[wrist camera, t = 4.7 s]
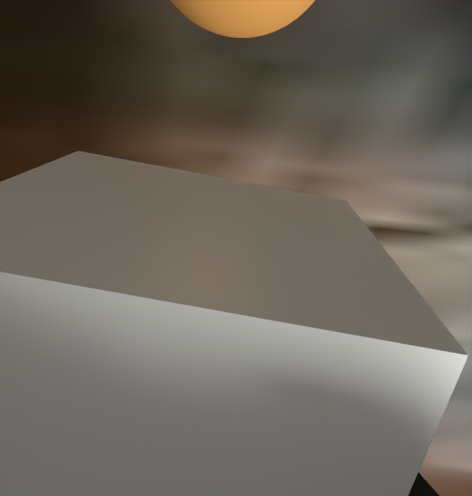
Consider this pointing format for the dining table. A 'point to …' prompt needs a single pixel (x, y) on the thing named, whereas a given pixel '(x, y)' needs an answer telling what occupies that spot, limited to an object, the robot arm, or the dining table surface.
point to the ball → (242, 15)
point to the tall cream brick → (206, 340)
